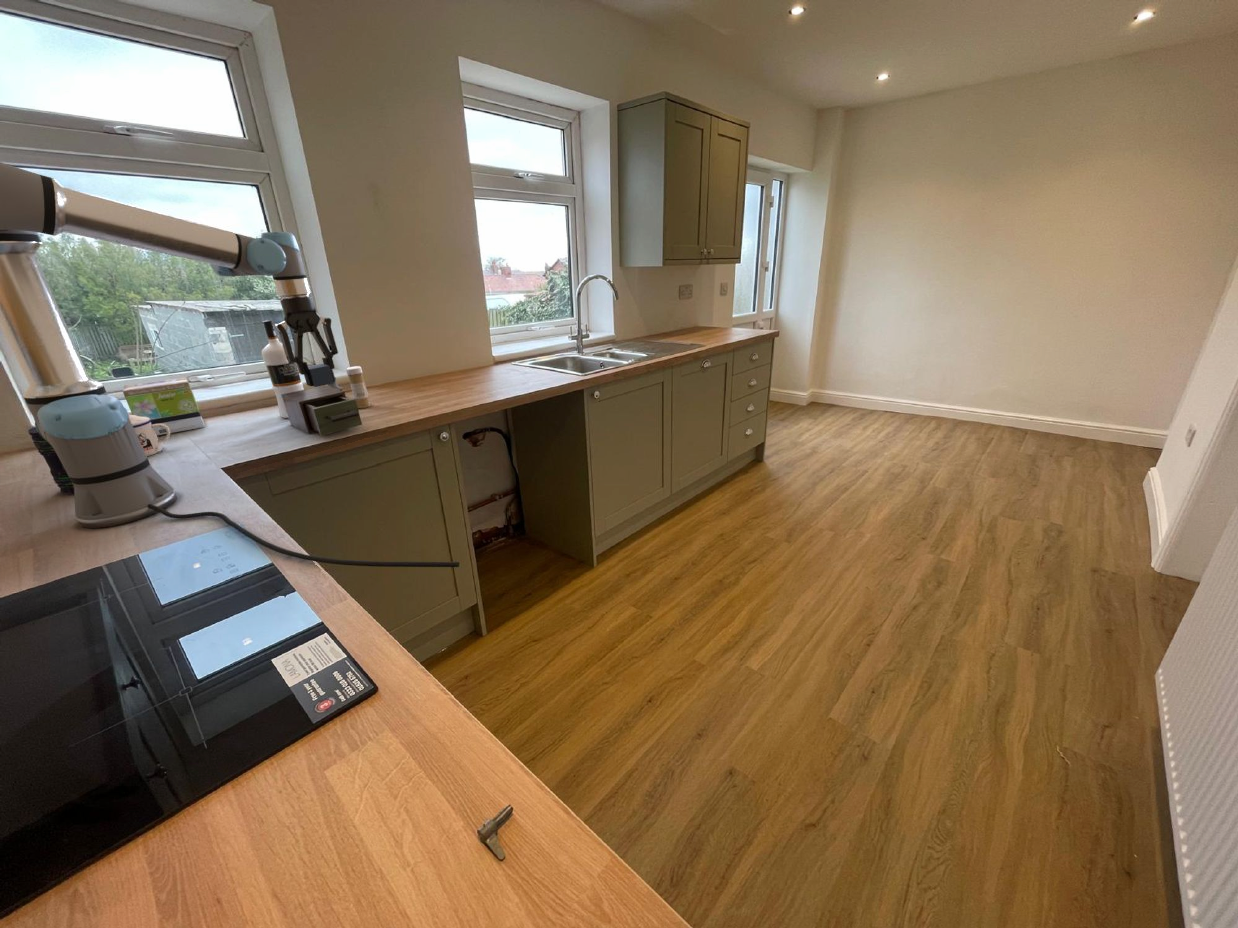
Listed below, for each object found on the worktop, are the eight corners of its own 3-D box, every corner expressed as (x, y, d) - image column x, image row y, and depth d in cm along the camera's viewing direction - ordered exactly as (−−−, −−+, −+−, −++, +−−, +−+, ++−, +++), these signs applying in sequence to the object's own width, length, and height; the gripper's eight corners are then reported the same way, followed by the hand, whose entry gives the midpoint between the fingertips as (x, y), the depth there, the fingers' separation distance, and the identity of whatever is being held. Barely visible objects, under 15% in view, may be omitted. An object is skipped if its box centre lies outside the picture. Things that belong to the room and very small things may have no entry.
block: (334, 383, 141) (329, 365, 139) (315, 387, 138) (310, 369, 136) (327, 380, 144) (322, 363, 142) (308, 384, 141) (303, 367, 139)
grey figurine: (339, 400, 178) (330, 367, 173) (323, 401, 178) (314, 368, 174) (348, 396, 184) (339, 363, 179) (332, 396, 184) (323, 364, 179)
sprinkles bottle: (372, 404, 172) (362, 365, 166) (369, 408, 168) (359, 368, 162) (358, 405, 171) (347, 366, 166) (354, 409, 167) (344, 369, 162)
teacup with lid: (116, 463, 130) (95, 420, 125) (123, 453, 137) (104, 412, 132) (174, 451, 136) (157, 410, 131) (178, 442, 143) (162, 403, 138)
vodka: (295, 410, 169) (266, 318, 158) (319, 410, 168) (292, 318, 156) (273, 418, 161) (241, 323, 149) (298, 419, 159) (267, 322, 147)
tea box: (142, 440, 147) (120, 391, 141) (143, 432, 154) (122, 385, 148) (206, 427, 156) (187, 380, 150) (203, 420, 163) (186, 375, 157)
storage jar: (74, 481, 120) (43, 422, 114) (126, 473, 123) (98, 415, 117) (51, 498, 111) (15, 435, 105) (107, 489, 115) (76, 427, 109)
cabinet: (352, 422, 154) (344, 391, 150) (308, 433, 145) (298, 401, 142) (333, 414, 163) (325, 385, 159) (290, 424, 154) (281, 394, 150)
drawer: (369, 427, 145) (363, 401, 142) (328, 439, 137) (320, 412, 134) (343, 417, 156) (336, 392, 153) (303, 427, 148) (295, 401, 145)
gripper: (326, 293, 140) (348, 374, 150) (252, 300, 128) (281, 388, 137) (337, 293, 136) (359, 377, 145) (261, 300, 123) (290, 392, 133)
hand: (321, 383), depth 141 cm, fingers closed on block, 5 cm apart
